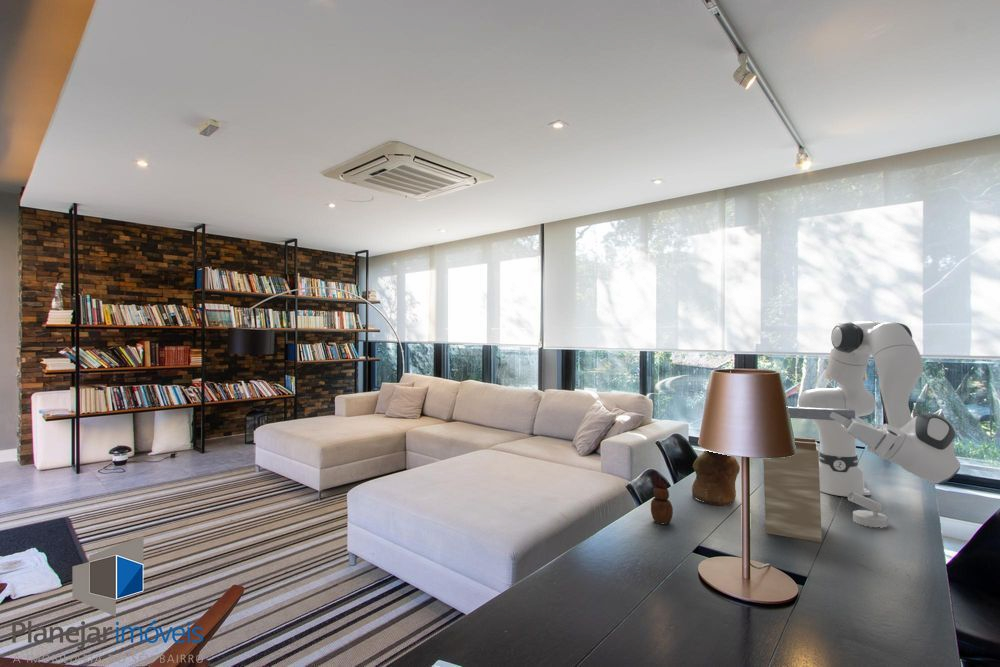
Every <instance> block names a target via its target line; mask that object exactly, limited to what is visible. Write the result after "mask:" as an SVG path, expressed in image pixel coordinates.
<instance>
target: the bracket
mask: <svg viewBox="0 0 1000 667" xmlns="http://www.w3.org/2000/svg"><path fill="white" fill-rule="evenodd" d="M787 407H788V408H789V414H790V418H789V419H801V420H802V419H803V420H812V419H818V420H834V419H832V418H830V416H829V415H830V413H831V412H835V413H837V414H839V415H841V416H843V417H845V418H848V419H849V420H851V418H854V419H855V410H854V409H831V408H807V407H799V406H787Z"/></svg>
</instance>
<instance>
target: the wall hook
mask: <svg viewBox="0 0 1000 667" xmlns="http://www.w3.org/2000/svg"><path fill="white" fill-rule="evenodd" d="M847 500H848V501H849V502H852V503H855V504H856V505H859V506H861V507H863V508H866V509H867V510H865V509H857V510H853V511H852V520H853V522H854V523H855V522H856V524H857V523H858V524H857V525H860V524H861V525H860V526H863V525H864V526H863V527H867V526H869V527H868V528H872V527H880V528H879V529H884V528H883V527H886V528H888V527H887V526H889V522H888V521H889V520H888V519H889V518H888V516H887V515H886V514H884V513H881V512H882V510H883V506H882V504H881V503H879V502H878V501H876V500H873V499H871V498H868V497H866V496H865V495H863V496H862V495H859V494H857V493H855V492H850V493H849V495H848V497H847Z"/></svg>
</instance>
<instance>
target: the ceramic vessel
mask: <svg viewBox="0 0 1000 667" xmlns="http://www.w3.org/2000/svg"><path fill="white" fill-rule="evenodd" d="M740 468H741V467H740V464H739V462H738V461H737V459H736V457H735V456H733V455H732V456H727V455H722V454H718V453H713V452H709V451H706V450H704V451H703V452H702V454H700V455H698V456H697V457H696V459H695V460H694V461H693V464H692V469H693V471H694V472H695V475H696V477H695V479H694V480H693V484H692V486H691V494H692V497H693V496H694V497H695V498H697V499H699V500H701V501H704V502H706V503H705V504H708V503H710V504H709V505H714V504H715V505H714V506H729V505H731V504H733V502H735V501H736V498H737V497H736V496H737V491H736V482H737V481H736V480H737V478H738V475H739V473H740ZM730 503H731V504H730ZM728 504H729V505H728Z"/></svg>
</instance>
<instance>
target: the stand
mask: <svg viewBox="0 0 1000 667" xmlns="http://www.w3.org/2000/svg"><path fill="white" fill-rule="evenodd" d="M793 437H794V436H793ZM794 439H795V445H796V450H797V453H796V454H795V455H794V456H791V457H785V458H771V459H763V458H762V460H763V462H762V463H763V464H762V465H763V491H764V494H763V495H764V517H765V518H764V520H765V534H770V535H776V536H781V537H782V536H783V537H788V538H789V537H790V538H793V539H794V538H795V539H800V540H806V541H812V542H818V543H822V542H823V539H822V538H823V537H822V536H823V535H822V512H821V511H822V510H821V491H820V478H819V464H820V461H819V452H820V451H819V446H818V442H817V441H816V438H814V437H813V438H812V437H811V438H809V437H808V438H807V437H797V436H795V437H794Z"/></svg>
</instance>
